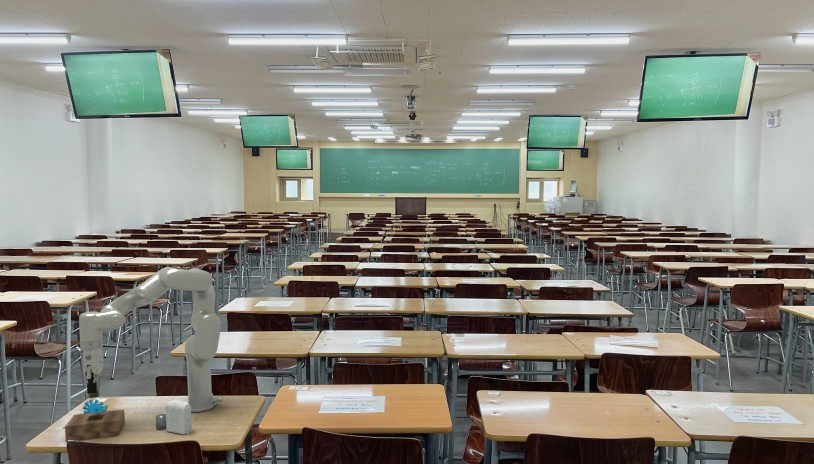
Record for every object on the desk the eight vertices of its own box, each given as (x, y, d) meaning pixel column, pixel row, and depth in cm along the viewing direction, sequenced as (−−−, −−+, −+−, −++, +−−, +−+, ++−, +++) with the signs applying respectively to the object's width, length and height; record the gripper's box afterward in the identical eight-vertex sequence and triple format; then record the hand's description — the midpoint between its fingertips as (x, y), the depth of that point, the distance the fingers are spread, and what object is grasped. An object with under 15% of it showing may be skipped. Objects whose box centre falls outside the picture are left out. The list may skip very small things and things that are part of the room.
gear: (90, 421, 230) (80, 400, 234) (82, 429, 232) (73, 409, 235) (115, 415, 240) (105, 395, 243) (107, 423, 242) (98, 404, 245)
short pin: (168, 425, 228) (167, 413, 228) (166, 429, 225) (166, 416, 224) (157, 426, 227) (156, 414, 227) (155, 430, 223) (155, 418, 223)
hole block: (124, 423, 231) (124, 409, 230) (118, 435, 219) (117, 420, 219) (74, 429, 226) (74, 414, 225) (65, 442, 214) (64, 426, 214)
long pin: (100, 394, 224) (99, 368, 223) (98, 397, 220) (97, 371, 219) (89, 395, 223) (88, 369, 222) (86, 398, 219) (85, 372, 218)
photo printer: (193, 431, 222) (192, 400, 221) (185, 435, 218) (184, 403, 217) (173, 427, 226) (171, 397, 225) (164, 432, 222) (163, 400, 221)
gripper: (96, 348, 213) (99, 397, 214) (107, 338, 229) (109, 383, 230) (74, 350, 211) (76, 399, 212) (86, 339, 227) (88, 385, 228)
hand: (93, 390), depth 221 cm, fingers closed on long pin, 4 cm apart
